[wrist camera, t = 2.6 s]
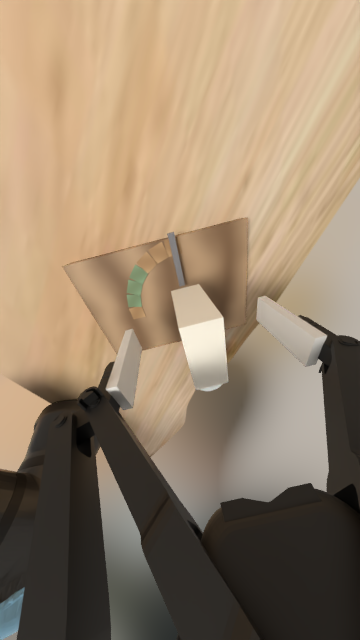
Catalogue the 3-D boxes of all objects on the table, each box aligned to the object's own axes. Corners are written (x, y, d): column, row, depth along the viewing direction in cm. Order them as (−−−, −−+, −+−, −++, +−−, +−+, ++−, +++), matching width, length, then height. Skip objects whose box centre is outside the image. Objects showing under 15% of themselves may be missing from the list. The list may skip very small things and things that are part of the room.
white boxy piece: (180, 323, 23) (195, 390, 13) (157, 236, 17) (155, 245, 7) (199, 318, 23) (228, 382, 13) (183, 229, 17) (216, 229, 7)
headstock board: (120, 348, 27) (118, 357, 25) (70, 263, 19) (61, 266, 17) (240, 318, 27) (246, 324, 25) (239, 218, 19) (248, 217, 17)
